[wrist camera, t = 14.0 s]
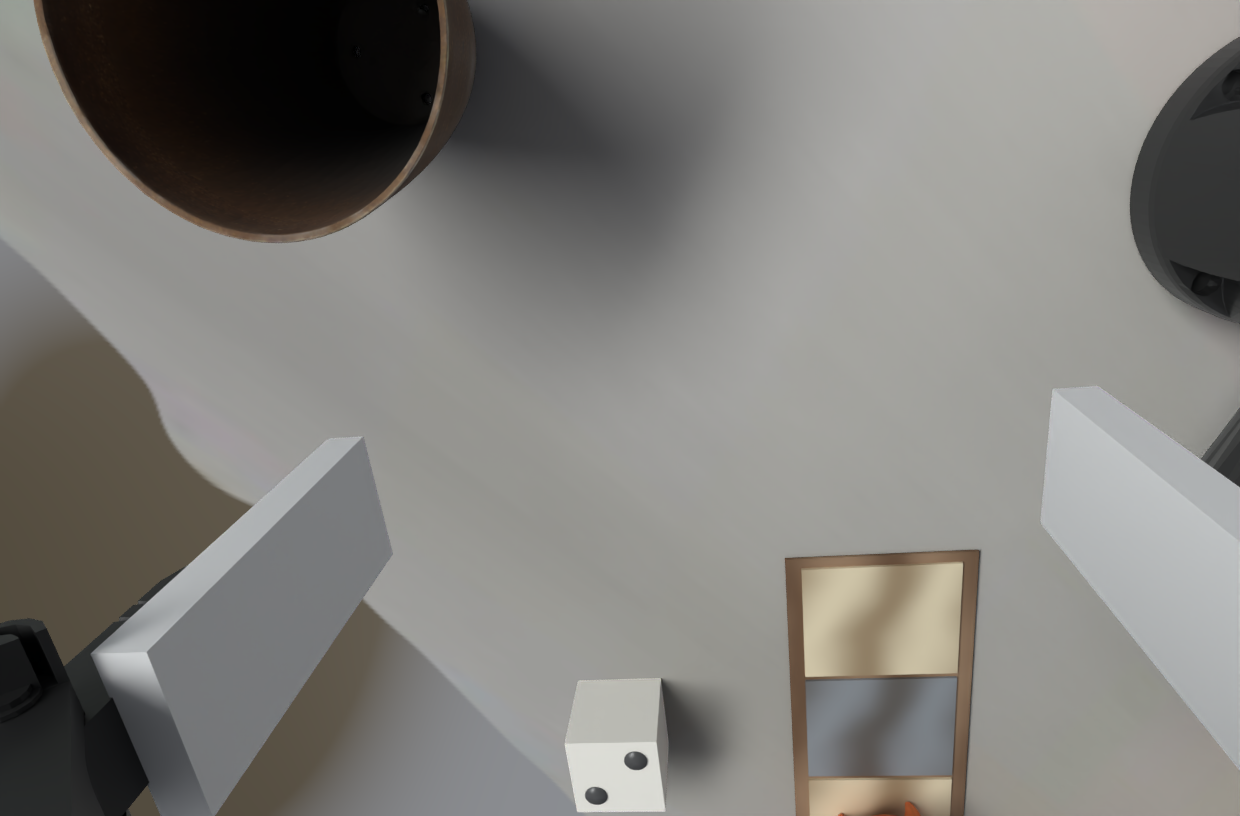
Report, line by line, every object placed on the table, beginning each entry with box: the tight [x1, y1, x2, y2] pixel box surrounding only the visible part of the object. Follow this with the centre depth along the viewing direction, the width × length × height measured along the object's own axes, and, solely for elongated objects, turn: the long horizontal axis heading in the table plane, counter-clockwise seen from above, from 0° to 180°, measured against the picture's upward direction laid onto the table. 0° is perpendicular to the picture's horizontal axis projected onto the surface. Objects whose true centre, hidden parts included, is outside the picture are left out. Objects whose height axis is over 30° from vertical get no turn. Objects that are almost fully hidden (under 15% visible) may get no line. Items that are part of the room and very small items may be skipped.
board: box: [785, 550, 979, 816], centre depth 56 cm, size 12×37×1 cm, turn 6°
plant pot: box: [34, 0, 476, 243], centre depth 34 cm, size 15×15×16 cm
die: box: [565, 678, 669, 812], centre depth 54 cm, size 6×6×6 cm
